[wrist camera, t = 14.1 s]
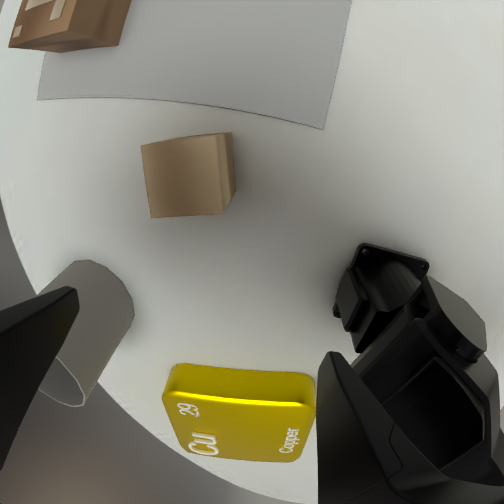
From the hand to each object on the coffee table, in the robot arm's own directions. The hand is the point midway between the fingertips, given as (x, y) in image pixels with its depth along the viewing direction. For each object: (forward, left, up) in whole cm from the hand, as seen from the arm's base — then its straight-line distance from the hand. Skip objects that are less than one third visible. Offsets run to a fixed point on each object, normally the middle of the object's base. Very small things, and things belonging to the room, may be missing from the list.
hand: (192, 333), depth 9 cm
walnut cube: (+14, -14, -6) cm, 21 cm away
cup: (+12, +11, -12) cm, 20 cm away
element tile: (-5, +23, -13) cm, 26 cm away
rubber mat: (+7, -14, -12) cm, 20 cm away
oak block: (+3, -3, -12) cm, 13 cm away
